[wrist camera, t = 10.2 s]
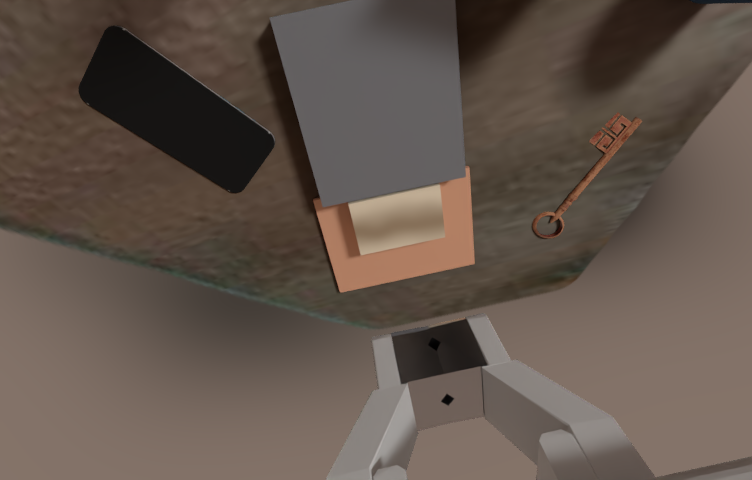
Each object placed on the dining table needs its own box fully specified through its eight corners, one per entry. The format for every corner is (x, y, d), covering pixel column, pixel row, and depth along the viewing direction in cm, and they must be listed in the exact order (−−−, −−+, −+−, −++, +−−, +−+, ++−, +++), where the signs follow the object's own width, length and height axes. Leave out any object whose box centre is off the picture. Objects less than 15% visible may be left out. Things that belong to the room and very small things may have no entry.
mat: (313, 198, 39) (313, 200, 39) (467, 165, 39) (469, 167, 39) (339, 290, 45) (340, 292, 45) (473, 261, 46) (474, 263, 45)
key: (609, 98, 38) (511, 219, 44) (614, 99, 37) (515, 223, 43) (648, 128, 40) (550, 241, 45) (654, 130, 39) (553, 245, 45)
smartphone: (110, 18, 30) (279, 139, 36) (114, 18, 30) (280, 137, 36) (73, 96, 32) (238, 197, 38) (78, 95, 33) (239, 194, 39)
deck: (273, 17, 31) (269, 17, 29) (445, -20, 31) (453, -22, 29) (322, 196, 39) (322, 207, 37) (458, 167, 39) (465, 177, 37)
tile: (347, 196, 39) (348, 204, 37) (434, 177, 39) (439, 184, 37) (359, 245, 42) (360, 255, 40) (440, 228, 42) (445, 237, 40)
